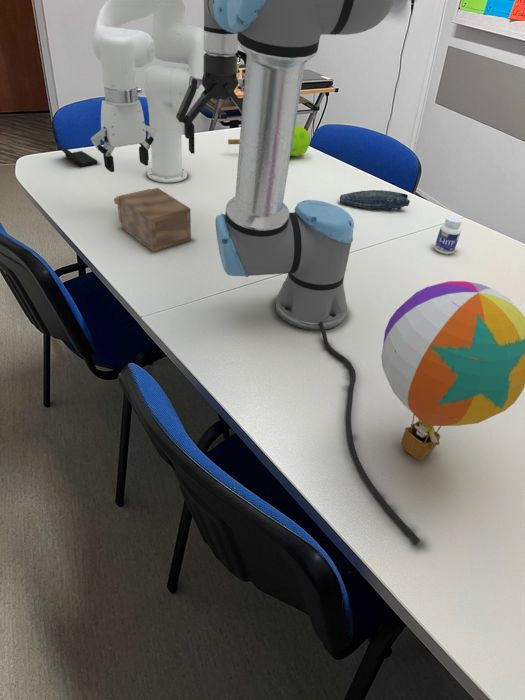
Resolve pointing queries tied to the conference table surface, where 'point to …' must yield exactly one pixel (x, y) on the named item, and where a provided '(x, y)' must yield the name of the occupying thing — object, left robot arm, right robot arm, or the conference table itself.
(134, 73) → the left robot arm
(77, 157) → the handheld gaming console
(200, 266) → the conference table surface
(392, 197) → the fish model
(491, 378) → the toy
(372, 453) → the conference table surface
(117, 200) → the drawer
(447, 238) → the pill bottle
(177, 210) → the wooden grain block
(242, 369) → the conference table surface
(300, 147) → the decorative tree
